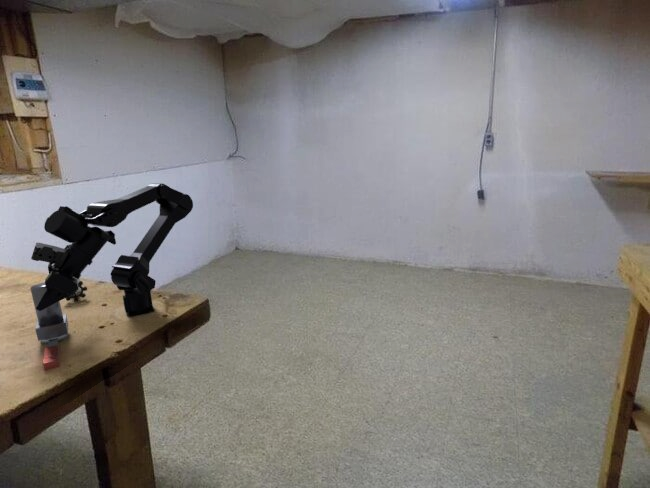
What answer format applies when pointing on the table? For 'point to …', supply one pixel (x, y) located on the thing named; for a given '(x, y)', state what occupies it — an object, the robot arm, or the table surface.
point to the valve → (78, 291)
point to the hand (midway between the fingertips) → (39, 303)
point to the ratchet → (52, 352)
